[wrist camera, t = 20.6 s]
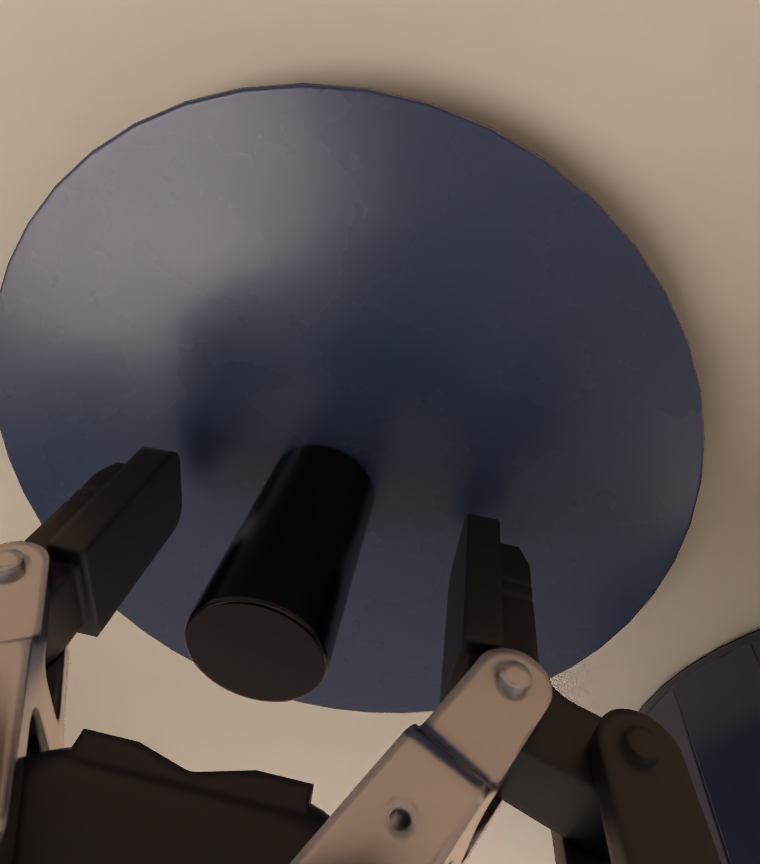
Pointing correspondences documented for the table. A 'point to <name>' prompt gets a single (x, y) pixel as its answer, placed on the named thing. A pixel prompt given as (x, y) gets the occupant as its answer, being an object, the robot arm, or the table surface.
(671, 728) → the pot
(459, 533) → the pot lid
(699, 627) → the table surface
